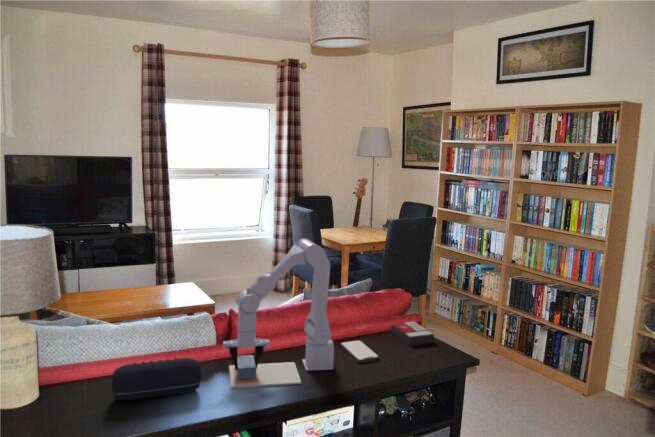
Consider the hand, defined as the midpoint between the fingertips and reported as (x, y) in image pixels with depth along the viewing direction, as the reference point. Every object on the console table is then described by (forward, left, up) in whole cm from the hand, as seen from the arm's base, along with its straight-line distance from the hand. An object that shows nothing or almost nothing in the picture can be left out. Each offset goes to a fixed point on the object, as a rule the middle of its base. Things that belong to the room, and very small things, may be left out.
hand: (245, 368), depth 167 cm
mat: (-6, 0, -3) cm, 7 cm away
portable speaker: (+27, +7, -3) cm, 28 cm away
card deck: (0, 0, -1) cm, 1 cm away
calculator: (-67, -25, -3) cm, 71 cm away
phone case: (-42, -13, -3) cm, 44 cm away
